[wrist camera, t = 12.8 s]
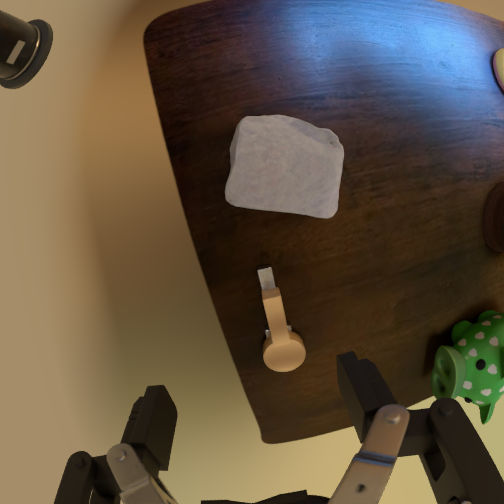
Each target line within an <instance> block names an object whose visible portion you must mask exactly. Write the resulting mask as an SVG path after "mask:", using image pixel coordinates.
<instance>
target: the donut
mask: <svg viewBox="0 0 504 504" xmlns="http://www.w3.org/2000/svg"><path fill="white" fill-rule="evenodd" d="M493 66H494V72H495V75H496V78H497V80H498V82H499V84H500V86H501V88H502V89H503V91H504V48H503V49H499V50H498V51H497V52H496V53H495V55H494V59H493Z"/></svg>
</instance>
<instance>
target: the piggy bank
mask: <svg viewBox="0 0 504 504" xmlns="http://www.w3.org/2000/svg"><path fill="white" fill-rule="evenodd" d="M451 335H452V341H453V343H454V345H453V346H452V347H451V346H440V347H439V348H438V350H437V352H436V355H435V360H434V368H433V370H432V374H431V389H432V392H433V394H434V396H435V397H436V399H440V398H444V397H448V398H453V399H454V398H456V397H457V396H460V397H463V398H464V399H465V401H466V402H467V403H470V402H472V403H474V404H476V405H478V406H479V409H480V416H481V422H482V424H485V423H487V422H488V421H489V420H490V418H491V416H492V413H493V410H494V406H495V403H496V402H497V401H498V400H499V398H500V397H501V396H502V395H503V394H504V313H498V312H495V311H493V310H489V311H485V312H483V313H481V314H480V315H479V317H478V320H477V323H475V324H472V323H470V322H468V321H460V322H459V323H457V324H456V325H455V326H454V327H453V329H452V334H451Z"/></svg>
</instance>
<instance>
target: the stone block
mask: <svg viewBox="0 0 504 504" xmlns="http://www.w3.org/2000/svg"><path fill="white" fill-rule="evenodd" d="M230 157H231V159H230V163H231V170H230V174H229V177H228V180H227V183H226V187H225V196H226V200H227V201H228V202H229V203H230V204H231V205H234V206H236V207H244V208H250V209H258V210H267V211H277V212H289V213H297V214H303V215H309V216H313V217H317V218H330V217H332V216H333V215H334V214H335V213H336V211H337V208H338V198H339V194H338V192H339V186H340V179H341V173H342V165H343V158H344V150H343V146H342V145H341V144H340V143H339V139H338V137H337V136H336V135H335V134H334V133H333V132H332V131H331V130H329V129H325V128H318V127H315V126H313V125H312V124H310V123H308V122H305V121H302V120H300V119H296V118H291V117H288V116H284V115H270V116H266V115H263V116H258V117H257V116H247V117H245V118H243V119H242V120H241V121H240V123H239V124H238V125H237V127H236V131H235V134H234V137H233V140H232V142H231V146H230Z"/></svg>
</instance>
